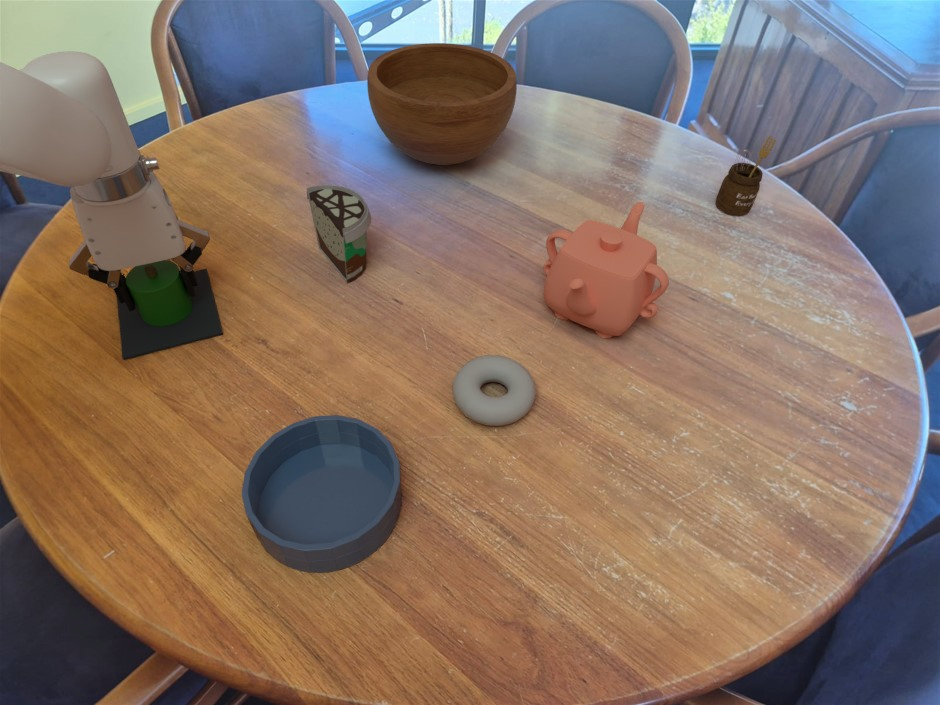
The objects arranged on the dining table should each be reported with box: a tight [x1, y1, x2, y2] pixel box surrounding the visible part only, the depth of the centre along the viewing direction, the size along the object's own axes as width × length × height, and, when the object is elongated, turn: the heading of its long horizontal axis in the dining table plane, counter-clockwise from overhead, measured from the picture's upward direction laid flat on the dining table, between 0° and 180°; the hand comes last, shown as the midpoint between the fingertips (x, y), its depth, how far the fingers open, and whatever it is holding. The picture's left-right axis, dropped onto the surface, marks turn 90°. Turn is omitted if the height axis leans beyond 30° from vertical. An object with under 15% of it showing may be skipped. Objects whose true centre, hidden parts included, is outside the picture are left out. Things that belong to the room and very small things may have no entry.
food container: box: [306, 184, 372, 284], centre depth 89 cm, size 12×6×10 cm, turn 34°
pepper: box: [125, 259, 193, 326], centre depth 80 cm, size 6×6×7 cm
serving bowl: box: [241, 414, 403, 574], centre depth 63 cm, size 15×15×5 cm
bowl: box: [366, 42, 518, 166], centre depth 108 cm, size 25×25×15 cm
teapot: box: [542, 201, 670, 339], centre depth 82 cm, size 15×17×13 cm
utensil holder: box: [715, 135, 777, 217], centre depth 101 cm, size 6×6×12 cm
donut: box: [452, 354, 537, 427], centre depth 74 cm, size 10×4×10 cm
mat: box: [116, 268, 224, 361], centre depth 83 cm, size 12×14×1 cm
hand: (161, 296), depth 81 cm, fingers open, 6 cm apart
